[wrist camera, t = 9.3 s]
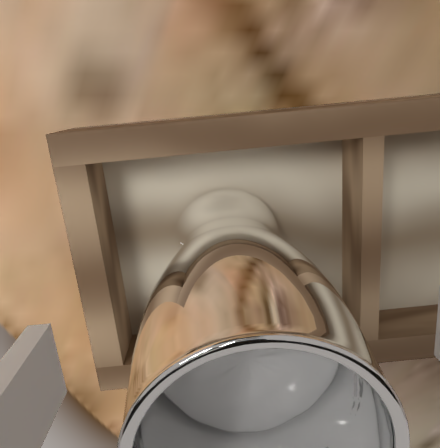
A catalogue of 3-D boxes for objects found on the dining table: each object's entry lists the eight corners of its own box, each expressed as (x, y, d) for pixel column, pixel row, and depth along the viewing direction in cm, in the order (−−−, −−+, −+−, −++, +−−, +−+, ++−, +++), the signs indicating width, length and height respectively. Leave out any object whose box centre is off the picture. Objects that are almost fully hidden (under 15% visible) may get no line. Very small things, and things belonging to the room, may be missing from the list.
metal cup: (261, 160, 22) (371, 274, 8) (303, 268, 24) (452, 519, 10) (145, 209, 23) (44, 401, 8) (195, 311, 25) (185, 608, 10)
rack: (74, 128, 22) (45, 134, 18) (610, 77, 23) (698, 72, 19) (116, 346, 26) (100, 390, 22) (568, 301, 27) (633, 337, 23)
